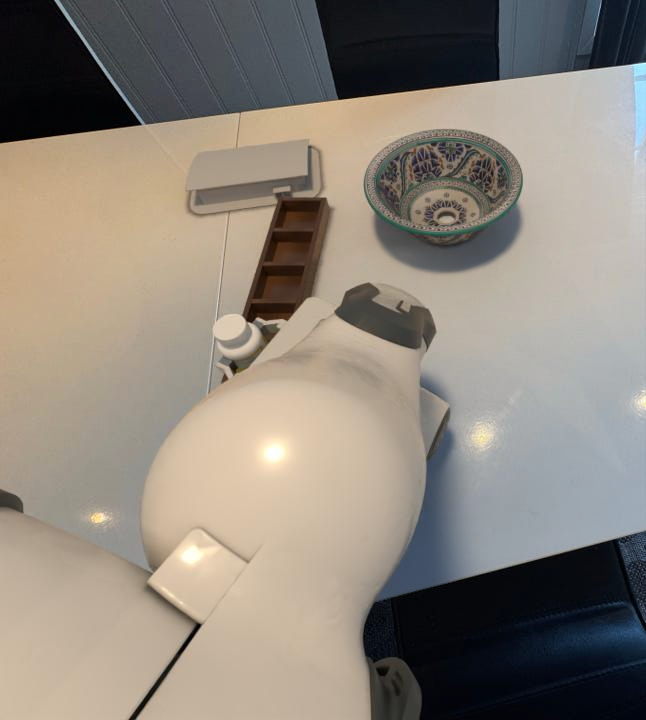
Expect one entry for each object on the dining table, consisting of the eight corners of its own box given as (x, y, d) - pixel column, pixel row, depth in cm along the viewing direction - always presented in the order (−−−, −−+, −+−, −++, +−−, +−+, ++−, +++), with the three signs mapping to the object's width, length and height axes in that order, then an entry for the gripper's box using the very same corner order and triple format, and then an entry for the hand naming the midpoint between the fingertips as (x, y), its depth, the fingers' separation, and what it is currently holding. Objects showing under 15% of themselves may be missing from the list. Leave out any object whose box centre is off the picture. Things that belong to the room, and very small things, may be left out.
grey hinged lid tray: (321, 198, 91) (315, 179, 87) (188, 216, 88) (176, 198, 85) (318, 145, 99) (312, 127, 95) (195, 161, 96) (185, 142, 93)
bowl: (409, 163, 96) (402, 116, 88) (536, 192, 91) (541, 145, 83) (348, 255, 83) (334, 210, 75) (492, 294, 79) (493, 251, 71)
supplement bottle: (246, 350, 71) (214, 307, 63) (284, 351, 71) (257, 309, 63) (234, 384, 68) (199, 343, 60) (274, 385, 68) (244, 345, 60)
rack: (227, 401, 69) (218, 391, 67) (284, 209, 89) (278, 197, 87) (287, 401, 69) (280, 391, 67) (330, 209, 89) (326, 197, 87)
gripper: (367, 307, 64) (279, 272, 67) (265, 443, 54) (168, 394, 58) (376, 335, 70) (294, 301, 73) (285, 464, 60) (195, 418, 63)
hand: (238, 343), depth 65 cm, fingers closed on supplement bottle, 5 cm apart
